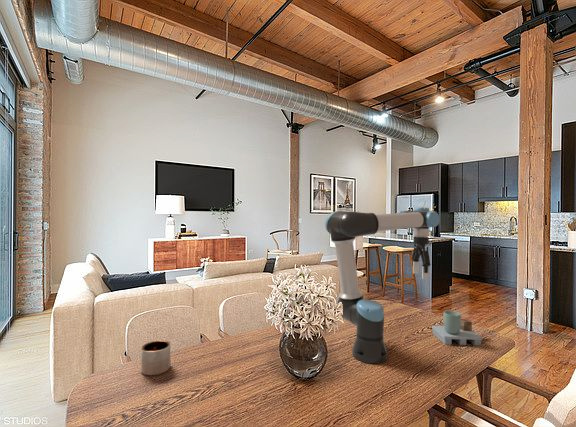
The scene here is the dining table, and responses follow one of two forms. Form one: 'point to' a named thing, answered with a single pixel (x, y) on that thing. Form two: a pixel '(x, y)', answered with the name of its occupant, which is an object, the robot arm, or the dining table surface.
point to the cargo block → (466, 325)
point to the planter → (155, 357)
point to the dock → (456, 336)
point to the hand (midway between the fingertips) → (420, 276)
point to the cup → (452, 321)
